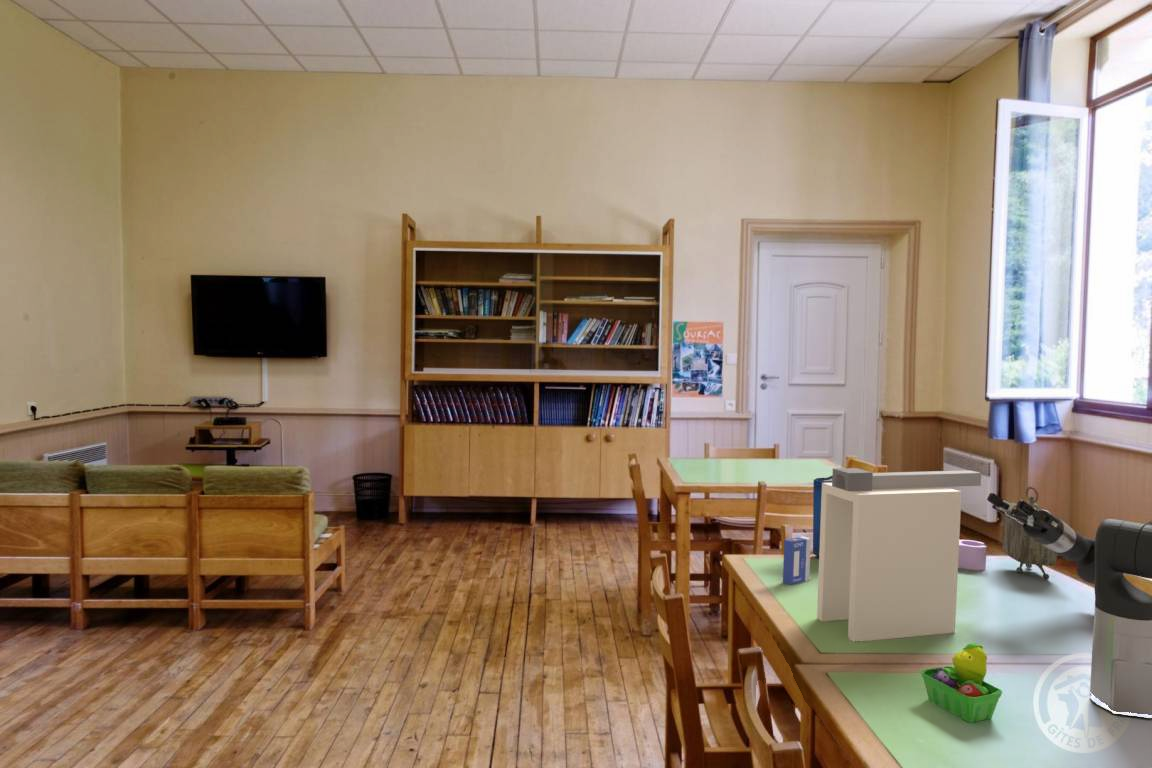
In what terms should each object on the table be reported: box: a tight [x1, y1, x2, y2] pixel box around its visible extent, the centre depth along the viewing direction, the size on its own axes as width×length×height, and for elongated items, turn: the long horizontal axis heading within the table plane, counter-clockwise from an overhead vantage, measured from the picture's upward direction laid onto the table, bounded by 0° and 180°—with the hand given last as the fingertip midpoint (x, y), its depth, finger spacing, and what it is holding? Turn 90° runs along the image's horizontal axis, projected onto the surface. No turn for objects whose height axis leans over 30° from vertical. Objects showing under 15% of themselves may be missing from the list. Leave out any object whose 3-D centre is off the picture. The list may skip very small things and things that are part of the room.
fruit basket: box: [920, 642, 1003, 724], centre depth 130 cm, size 11×9×11 cm
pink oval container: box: [958, 538, 987, 571], centre depth 220 cm, size 20×12×7 cm, turn 69°
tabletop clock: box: [1001, 486, 1058, 580], centre depth 211 cm, size 14×9×25 cm, turn 171°
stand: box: [816, 483, 963, 643], centre depth 168 cm, size 26×14×32 cm, turn 104°
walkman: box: [782, 535, 812, 586], centre depth 200 cm, size 8×3×12 cm, turn 123°
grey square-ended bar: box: [831, 467, 982, 491], centre depth 168 cm, size 36×6×4 cm, turn 104°
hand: (1003, 499), depth 176 cm, fingers open, 8 cm apart
